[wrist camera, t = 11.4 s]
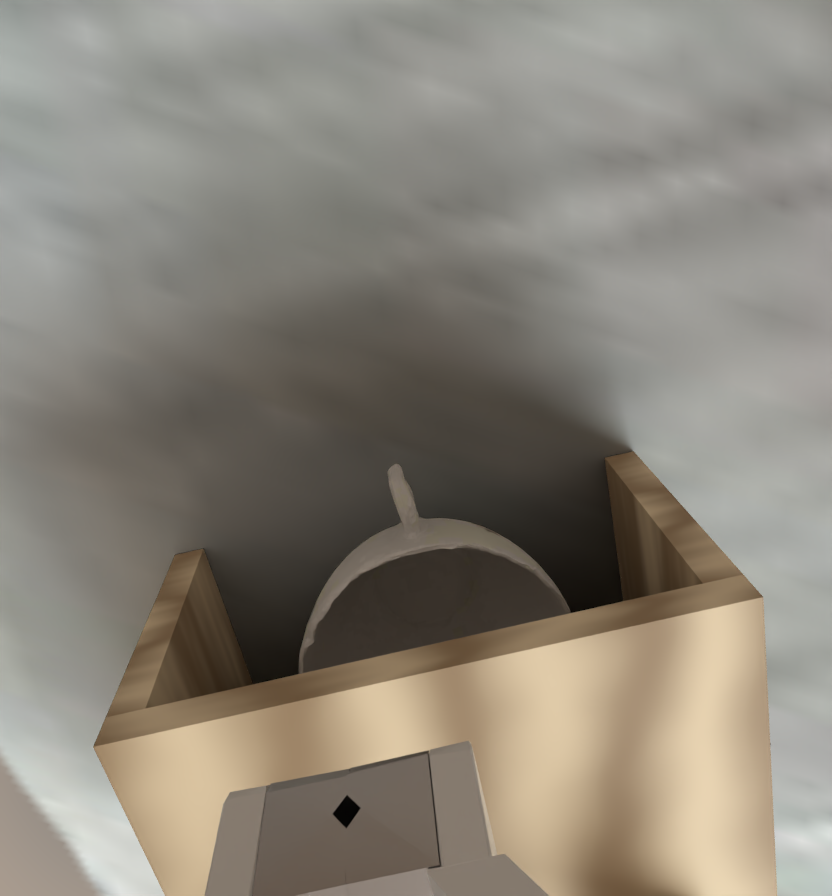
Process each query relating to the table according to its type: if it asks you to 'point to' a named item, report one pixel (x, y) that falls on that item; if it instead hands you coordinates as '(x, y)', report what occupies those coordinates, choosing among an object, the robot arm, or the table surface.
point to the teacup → (423, 588)
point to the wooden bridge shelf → (491, 721)
